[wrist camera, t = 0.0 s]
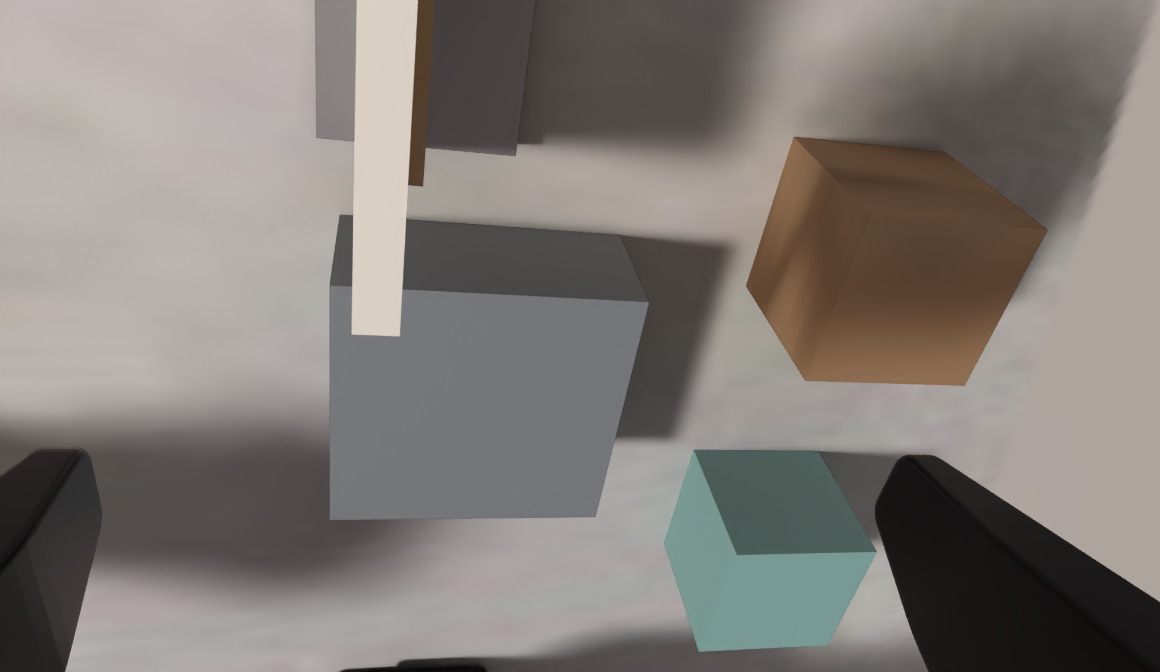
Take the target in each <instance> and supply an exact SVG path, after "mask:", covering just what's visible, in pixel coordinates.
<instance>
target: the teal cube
mask: <svg viewBox="0 0 1160 672" xmlns="http://www.w3.org/2000/svg"><path fill="white" fill-rule="evenodd" d="M664 546H665V549H666V552H667V555H668V558H669V561H670V564H671V567H672V570H673V573H674V576H675V580H676V583H677V586H678V589H679V592H680V595H681V598H682V601H683V604H684V607H685V611H686V614H687V617H688V620H689V623H690V626H691V629H692V632H693V635H694V638H695V641H696V645H697V648H698V651H699V652H704V651H724V650H743V649H763V648H782V647H802V646H821V645H828V644H829V642H830V640H831V638H832V636H833V634H834V632H835V631H836V629H837V627H838V625H839V623H840V621H841V619H842V617H843V615H844V614H845V612H846V610H847V608H848V606H849V604H850V602H851V600H852V598H853V596H854V595H855V593H856V591H857V589H858V587H859V585H860V583H861V581H862V579H863V578H864V576H865V574H866V572H867V570H868V568H869V566H870V564H871V562H872V560H873V559H874V557H875V555H876V553H877V551H876V549H875V548H874V546H873V544H872V542H871V541H870V539H869V537H868V536H867V534H866V532H865V531H864V529H863V527H862V525H861V524H860V522H859V520H858V519H857V517H856V515H855V513H854V512H853V510H852V508H851V507H850V505H849V503H848V502H847V500H846V498H845V496H844V495H843V493H842V491H841V490H840V488H839V486H838V484H837V483H836V481H835V479H834V478H833V476H832V474H831V472H830V471H829V469H828V467H827V466H826V464H825V462H824V461H823V459H822V457H821V455H820V454H819V452H818V451H767V450H694V451H693V454H692V457H691V460H690V463H689V466H688V469H687V472H686V476H685V479H684V482H683V485H682V488H681V491H680V494H679V498H678V501H677V504H676V507H675V510H674V513H673V516H672V519H671V523H670V526H669V529H668V532H667V535H666V538H665V541H664Z"/></svg>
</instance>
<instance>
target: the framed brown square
mask: <svg viewBox="0 0 1160 672" xmlns="http://www.w3.org/2000/svg"><path fill="white" fill-rule="evenodd" d="M535 2H536V0H315V61H316V138H322V139H333V140H344V141H355V142H354V207H353V271H352V335H377V336H400V322H401V304H402V285H403V267H404V249H405V230H406V212H407V193H408V185H412V186H423V179H424V163H425V148H432V149H443V150H454V151H465V152H475V153H486V154H497V155H508V156H516V149H517V142H518V134H519V126H520V118H521V110H522V103H523V95H524V87H525V79H526V72H527V64H528V56H529V48H530V41H531V33H532V25H533V17H534V9H535Z"/></svg>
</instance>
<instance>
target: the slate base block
mask: <svg viewBox="0 0 1160 672" xmlns="http://www.w3.org/2000/svg"><path fill="white" fill-rule="evenodd" d="M352 271H353V216H351V215H340V216H339V223H338V230H337V237H336V244H335V251H334V258H333V265H332V272H331V279H330V520H377V519H472V518H566V517H596V513H597V509H598V505H599V501H600V497H601V493H602V489H603V485H604V481H605V477H606V473H607V469H608V465H609V461H610V457H611V453H612V449H613V445H614V441H615V437H616V433H617V429H618V425H619V421H620V417H621V413H622V409H623V405H624V401H625V397H626V393H627V389H628V385H629V381H630V377H631V373H632V369H633V365H634V361H635V357H636V353H637V349H638V345H639V341H640V337H641V333H642V329H643V325H644V321H645V317H646V313H647V309H648V305H649V301H648V299H647V296H646V294H645V292H644V289H643V287H642V285H641V282H640V280H639V278H638V276H637V273H636V271H635V269H634V266H633V264H632V262H631V260H630V257H629V255H628V253H627V250H626V248H625V246H624V244H623V241H622V239H621V237H620V235H614V234H600V233H586V232H573V231H559V230H545V229H531V228H517V227H503V226H490V225H476V224H462V223H448V222H434V221H420V220H407V219H406V230H405V249H404V267H403V285H402V304H401V322H400V336H377V335H352Z"/></svg>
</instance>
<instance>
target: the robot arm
mask: <svg viewBox="0 0 1160 672" xmlns="http://www.w3.org/2000/svg"><path fill="white" fill-rule="evenodd" d="M101 518H102V511H101V503H100V498H99V494H98V489H97V484H96V480H95V475H94V471H93V466H92V461H91V458H90V456H89V454H88V452H87V451H86V450H84V449H82V448H78V447H44V448H39V449H37V450H35V451H33V452H31V453H30V454H29V455H27V456H26V457H24V458H23V459H22V460H20V461H19V462H18V463H16V464H15V465H14V466H12V467H11V468H10V469H8V470H7V471H5V472H4V473H3V474H1V475H0V672H65V670H66V667H67V663H68V659H69V655H70V652H71V648H72V644H73V639H74V635H75V631H76V627H77V623H78V619H79V615H80V611H81V607H82V602H83V598H84V594H85V590H86V586H87V582H88V578H89V574H90V570H91V565H92V561H93V557H94V553H95V549H96V545H97V541H98V537H99V533H100V528H101ZM875 519H876V524H877V527H878V530H879V533H880V536H881V539H882V542H883V546H884V549H885V552H886V555H887V558H888V561H889V564H890V567H891V570H892V574H893V577H894V580H895V583H896V586H897V589H898V592H899V595H900V598H901V601H902V605H903V608H904V611H905V614H906V617H907V620H908V623H909V625H910V628H911V631H912V634H913V636H914V639H915V641H916V644H917V646H918V649H919V651H920V653H921V656H922V658H923V660H924V663H925V665H926V667H927V670H928V672H1160V602H1159V601H1157V600H1156V599H1154V598H1153V597H1151V596H1150V595H1148V594H1147V593H1145V592H1143V591H1142V590H1141V589H1139V588H1138V587H1136V586H1134V585H1133V584H1131V583H1130V582H1128V581H1127V580H1125V579H1124V578H1122V577H1121V576H1119V575H1118V574H1116V573H1114V572H1113V571H1111V570H1110V569H1108V568H1107V567H1105V566H1104V565H1102V564H1101V563H1099V562H1098V561H1096V560H1095V559H1093V558H1091V557H1090V556H1088V555H1087V554H1085V553H1084V552H1082V551H1081V550H1079V549H1078V548H1076V547H1075V546H1073V545H1072V544H1070V543H1069V542H1067V541H1065V540H1064V539H1062V538H1061V537H1059V536H1058V535H1056V534H1055V533H1053V532H1052V531H1050V530H1049V529H1047V528H1046V527H1044V526H1043V525H1041V524H1039V523H1038V522H1036V521H1035V520H1033V519H1032V518H1030V517H1029V516H1027V515H1026V514H1024V513H1022V512H1021V511H1019V510H1018V509H1016V508H1015V507H1013V506H1012V505H1010V504H1009V503H1007V502H1006V501H1004V500H1003V499H1001V498H1000V497H998V496H997V495H995V494H994V493H992V492H990V491H989V490H987V489H986V488H984V487H983V486H981V485H980V484H978V483H977V482H975V481H974V480H972V479H971V478H969V477H967V476H966V475H964V474H963V473H961V472H960V471H958V470H957V469H955V468H954V467H952V466H951V465H949V464H948V463H946V462H944V461H943V460H941V459H940V458H938V457H936V456H932V455H905V456H902V457H901V458H900V459H898V460H897V462H896V463H895V465H894V467H893V469H892V471H891V473H890V475H889V477H888V479H887V481H886V483H885V485H884V487H883V489H882V491H881V493H880V495H879V497H878V499H877V501H876V505H875ZM397 672H487V670H486V669H484V668H478V667H476V668H456V669H436V670H417V671H397Z"/></svg>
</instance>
